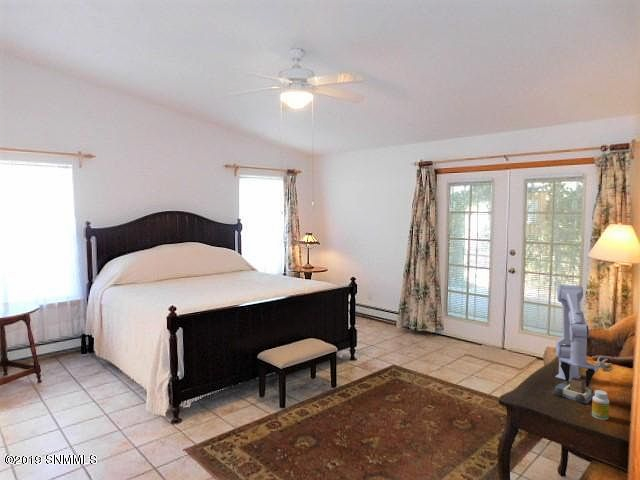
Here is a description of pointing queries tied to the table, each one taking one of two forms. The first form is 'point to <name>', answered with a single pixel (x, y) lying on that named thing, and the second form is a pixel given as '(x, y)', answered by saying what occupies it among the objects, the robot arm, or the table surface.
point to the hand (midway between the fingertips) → (577, 383)
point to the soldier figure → (602, 365)
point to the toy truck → (573, 393)
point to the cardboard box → (577, 385)
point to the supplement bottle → (600, 405)
